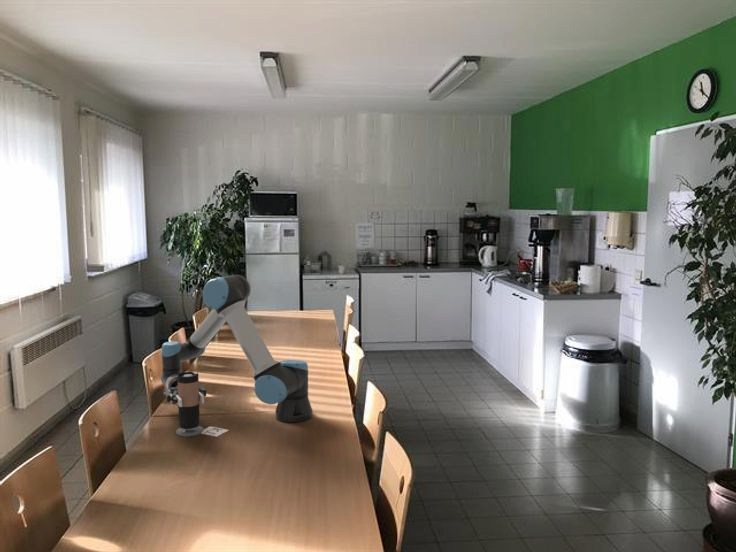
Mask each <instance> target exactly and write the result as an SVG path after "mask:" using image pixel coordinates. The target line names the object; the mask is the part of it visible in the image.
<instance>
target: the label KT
mask: <svg viewBox="0 0 736 552" xmlns="http://www.w3.org/2000/svg"><path fill="white" fill-rule="evenodd" d="M203 429H204V430H203V432H202V433H201V434H202V435H207V436H211V437H216V438H217V437H219V436H221V435H223V434H224V433H226V432H228V431H230V430H229V429H224V428H222V427H221V428H220V427H216V426H211V425H210V426H207V427H206V428H203Z"/></svg>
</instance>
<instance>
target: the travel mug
mask: <svg viewBox="0 0 736 552" xmlns="http://www.w3.org/2000/svg"><path fill="white" fill-rule="evenodd" d="M199 379H200V378H199V373H198V372H197V373H195V372H193V371H184V372H183V371H182V372H181V373H180V374H178V396H179V397H180V398H181V399H182V407H179V405H178V404H177V407H178V418H179V421H178V422H179V428H183V429H192V428H196V427H198V426H200V401H199V386H200V382H199Z"/></svg>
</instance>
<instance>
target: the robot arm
mask: <svg viewBox="0 0 736 552" xmlns="http://www.w3.org/2000/svg"><path fill="white" fill-rule="evenodd" d="M251 290H252V289H251V284H250V283H249V281H248V280H247V278H246V277H244V276H243V275H240V274H232V275H226V276H225V275H224V276H217V277H215V278H212V279H210V280H207V282H206V283H205V284H204V287H203V291H202V300H203V302H204V305H206V307H207V308H210V309H211V310H210V312H209V313H208V314H207V315H206V316H205V318H204V319H203V320H202V321H201V323H200V324H199V326H198V327H197V328H196V329H195V330H194V332H193V333H192V334H191V335H190V337H189V338H188V339H187V340H186V341H185V342H183V343H181V342H179V341H166V342H164V343H162V345H161V353H160V355H161V365H162V366H161V368H162V369H161V372H162V373H161V374H160V381H161V383H162V385H163V386H164V387H165V388H164V389H163V396H164V397H165V399H166V402H167V403H170V402H171V403H172V405H175V404H177V406H178V405H179V407H182V399H181V398H180V397H179V396H178V374H180V373H182V363H184V362H186V361H189V360H192V359H196V358H199V357H200V356H201V355H203V354H204V353H205V352H206V346H207V344H209V342H210V341H211V340H212V339H213V337H215V335H216V334H217V333H218V332H219V330H220V329H221V328H222V327H223V326H224V324H225V323H227V325H228V327H229V329H230V331H231V332H232V334H233V336H234V337H235V339H236V341H237V342H238V343H237V344H239V346H240V347H241V348H240V349H241V350H242V351H243V353H244V355H245V357H246V359H247V361H248V362H249V364H250V366H251V368H252V369H253V375H252V378H253V380H254V385H253V386H254V388H253V390H254V393H255V396H256V397H257V398H258V400H259V401H261V402H262V403H264V404H267V405H275V404H277V405H276V407H275V412H274V414H275V419H276V420H277V421H279V422H283V423H284V422H285V423H300V422H304V421H308V420H310V419H311V418H312V417H313V413H314V411H313V408H312V405H311V401H310V399H309V366H308V365H309V364H308V363H307V362H306V361H304V360H297V359H284V360H283V359H282V360H281V361H280V360H276V359H274V357H273V355H272V354H271V352H270V350H269V348H268V347H267V345H266V342H264V339H263V338H262V335H261V334H260V333H259V331H258V329H257V326H256V325H255V324H254V321H253V320H252V318H251V317H250V315H249V313H248V311H247V309H246V308H245V305H246V302H247V300H248V299H249V297H250V295H251ZM205 397H207V389H205V388H204V387H203V386H201V385H199V403H201V404H205ZM179 407H178V408H179Z"/></svg>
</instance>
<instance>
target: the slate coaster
mask: <svg viewBox="0 0 736 552" xmlns="http://www.w3.org/2000/svg"><path fill="white" fill-rule="evenodd" d="M204 429H205V428H204V427H203V426H201V425H199V426H198V427H196V428H192V429H183V428H180V427H179V428H177V429H176V431H175V434H176V435H177V436H179V437H186V438H187V437H195V436H198V435H201V434H202V432H203V430H204Z"/></svg>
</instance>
